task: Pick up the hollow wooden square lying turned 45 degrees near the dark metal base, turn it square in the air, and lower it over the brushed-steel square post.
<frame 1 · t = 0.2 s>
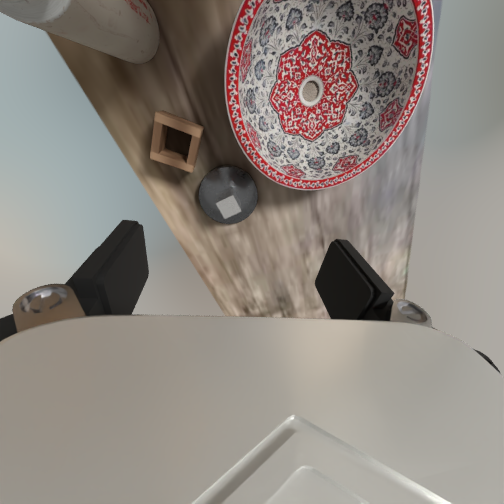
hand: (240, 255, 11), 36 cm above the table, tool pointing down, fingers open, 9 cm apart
thermos bottle: (130, 27, 32), on the table
hollow wooden square: (180, 139, 40), on the table
ceramic bowl: (309, 91, 38), on the table
post base: (228, 195, 47), on the table
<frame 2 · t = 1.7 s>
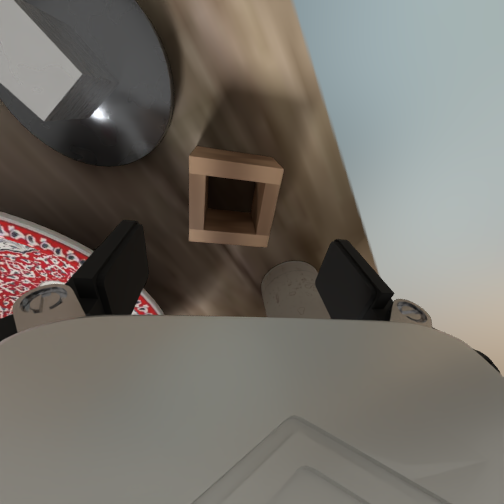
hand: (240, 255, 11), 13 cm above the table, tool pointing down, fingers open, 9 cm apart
thermos bottle: (289, 283, 30), on the table
hollow wooden square: (231, 189, 22), on the table
ceramic bowl: (63, 289, 27), on the table
post base: (91, 78, 17), on the table
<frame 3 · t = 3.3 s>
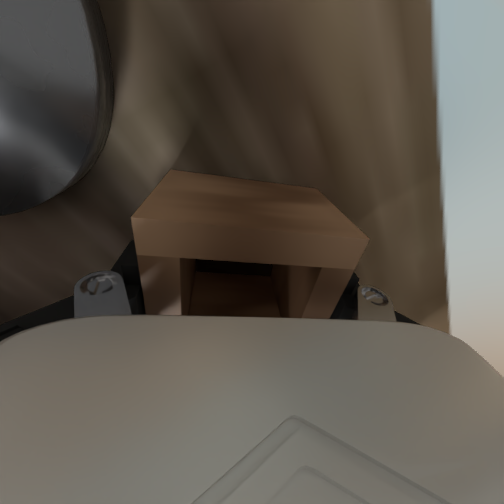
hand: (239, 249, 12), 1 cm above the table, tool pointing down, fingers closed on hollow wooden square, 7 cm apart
hollow wooden square: (238, 242, 12), on the table, touching gripper
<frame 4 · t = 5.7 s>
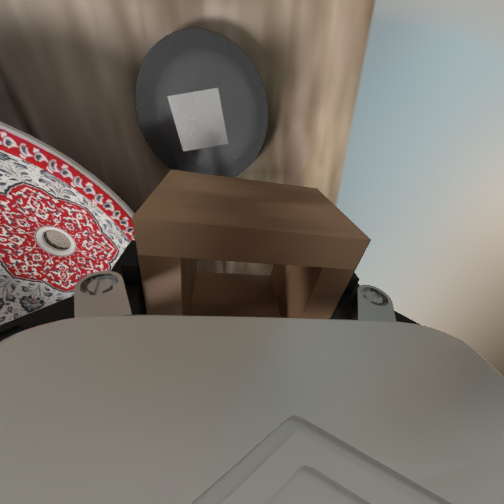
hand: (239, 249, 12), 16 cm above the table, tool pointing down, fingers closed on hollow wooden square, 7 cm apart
hollow wooden square: (238, 242, 12), point 15 cm above the table, touching gripper
ceramic bowl: (60, 238, 28), on the table
post base: (205, 117, 22), on the table
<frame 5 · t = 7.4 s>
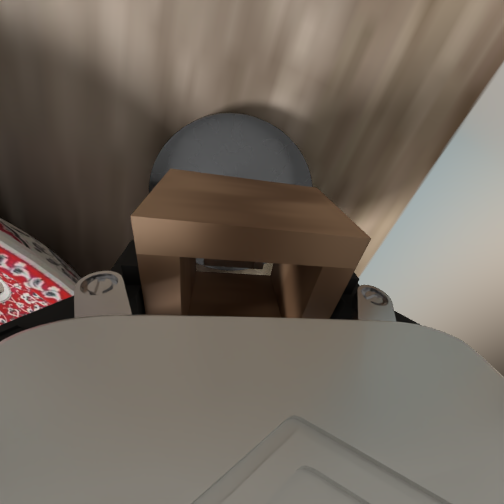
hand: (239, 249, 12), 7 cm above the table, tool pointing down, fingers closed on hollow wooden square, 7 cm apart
hollow wooden square: (238, 241, 12), point 7 cm above the table, touching gripper
post base: (233, 200, 18), on the table
when the fingers open (4 cm above the table, at t = 8.6 s): hollow wooden square drops 1 cm, resting on post base.
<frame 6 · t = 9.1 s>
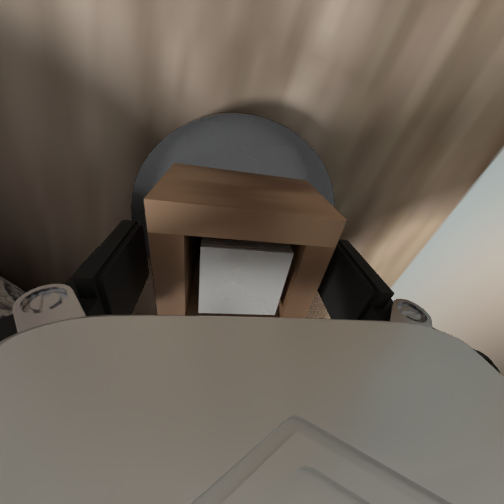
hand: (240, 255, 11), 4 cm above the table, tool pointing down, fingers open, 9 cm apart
hollow wooden square: (236, 230, 14), point 1 cm above the table, touching post base
post base: (236, 218, 15), on the table
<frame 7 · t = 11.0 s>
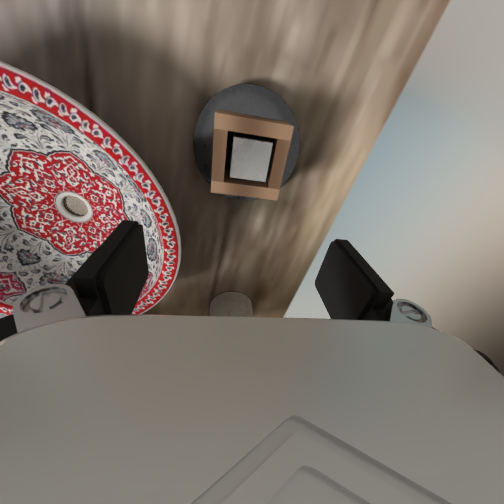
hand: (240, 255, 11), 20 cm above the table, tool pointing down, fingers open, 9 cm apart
thermos bottle: (231, 305, 42), on the table
hollow wooden square: (246, 150, 25), point 1 cm above the table, touching post base
ceramic bowl: (77, 204, 29), on the table
post base: (246, 147, 26), on the table
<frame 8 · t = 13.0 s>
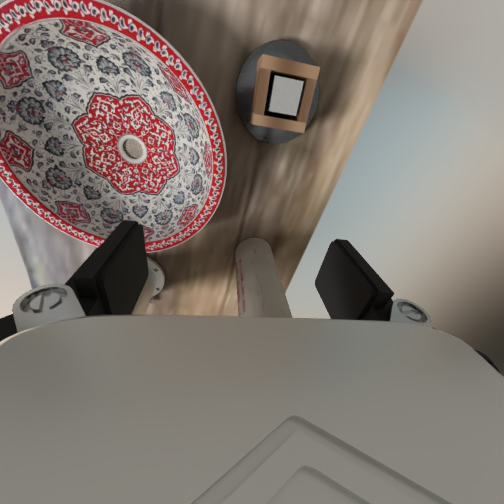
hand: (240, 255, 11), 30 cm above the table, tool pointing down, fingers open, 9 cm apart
thermos bottle: (253, 252, 48), on the table
hollow wooden square: (277, 97, 32), point 1 cm above the table, touching post base
ceramic bowl: (134, 148, 35), on the table
post base: (276, 97, 33), on the table
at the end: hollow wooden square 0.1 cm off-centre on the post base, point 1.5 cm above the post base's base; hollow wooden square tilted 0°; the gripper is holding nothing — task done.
